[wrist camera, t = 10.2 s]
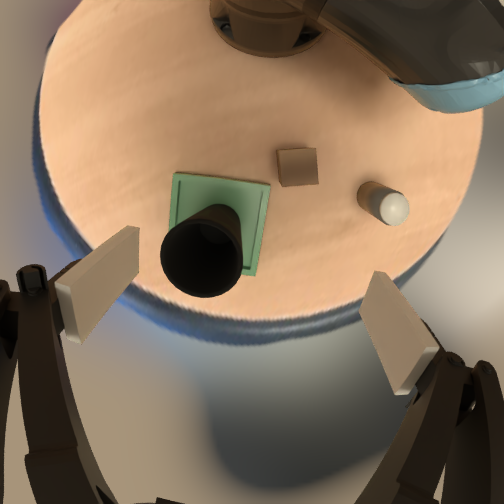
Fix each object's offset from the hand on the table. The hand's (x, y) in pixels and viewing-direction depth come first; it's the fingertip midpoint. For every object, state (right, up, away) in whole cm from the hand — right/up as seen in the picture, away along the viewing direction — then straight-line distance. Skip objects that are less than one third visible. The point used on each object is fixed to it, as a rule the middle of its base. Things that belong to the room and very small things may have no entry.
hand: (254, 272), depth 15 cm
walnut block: (+5, +12, +19) cm, 23 cm away
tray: (-5, +5, +22) cm, 23 cm away
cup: (-4, +5, +21) cm, 22 cm away
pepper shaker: (+16, +8, +20) cm, 27 cm away
